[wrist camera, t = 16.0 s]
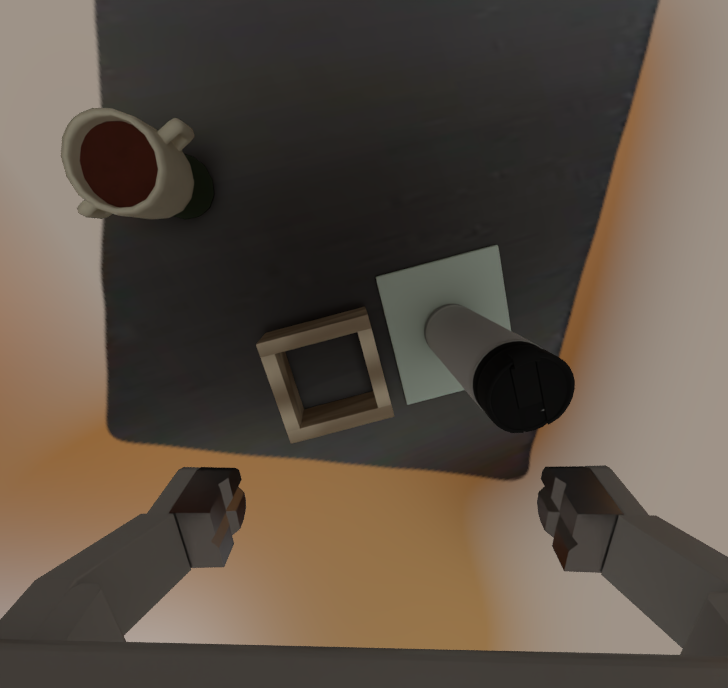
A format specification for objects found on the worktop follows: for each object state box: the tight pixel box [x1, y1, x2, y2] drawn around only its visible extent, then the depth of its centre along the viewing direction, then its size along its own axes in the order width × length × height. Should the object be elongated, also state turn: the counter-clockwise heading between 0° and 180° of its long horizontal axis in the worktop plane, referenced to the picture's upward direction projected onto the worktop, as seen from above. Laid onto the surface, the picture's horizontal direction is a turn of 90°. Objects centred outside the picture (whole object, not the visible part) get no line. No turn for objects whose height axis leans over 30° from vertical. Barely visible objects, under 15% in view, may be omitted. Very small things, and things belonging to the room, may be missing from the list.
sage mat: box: [375, 245, 511, 405], centre depth 44 cm, size 16×14×1 cm
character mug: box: [61, 108, 214, 219], centre depth 33 cm, size 11×7×13 cm, turn 128°
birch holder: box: [256, 307, 394, 444], centre depth 43 cm, size 12×12×5 cm
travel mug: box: [424, 304, 575, 433], centre depth 34 cm, size 6×7×20 cm
